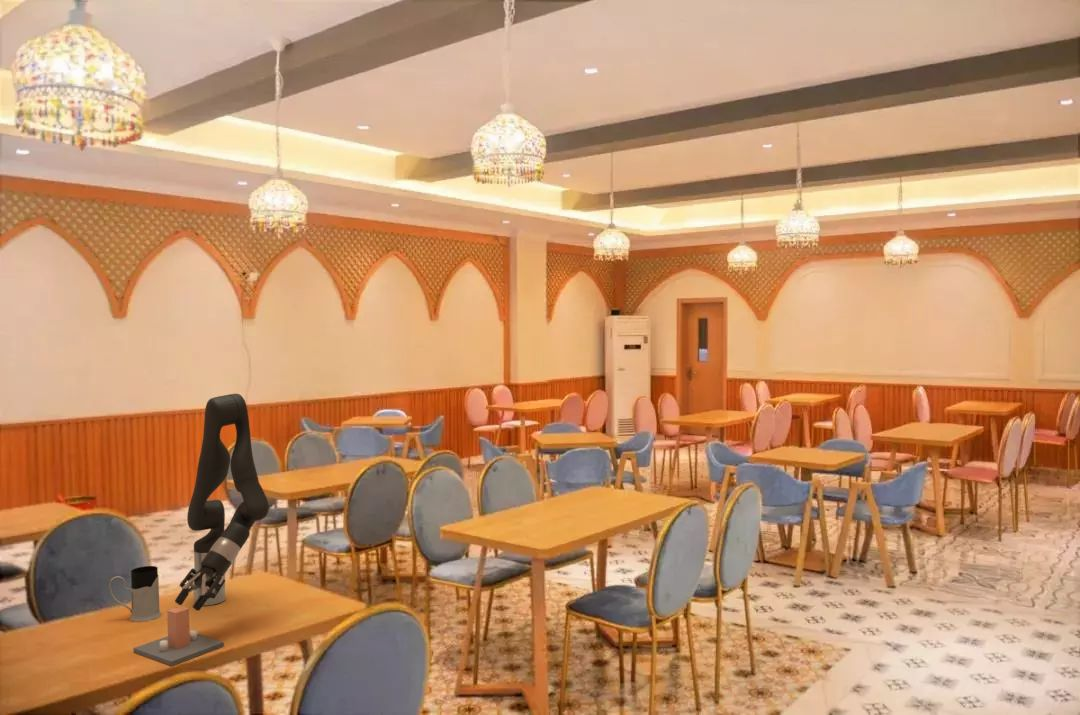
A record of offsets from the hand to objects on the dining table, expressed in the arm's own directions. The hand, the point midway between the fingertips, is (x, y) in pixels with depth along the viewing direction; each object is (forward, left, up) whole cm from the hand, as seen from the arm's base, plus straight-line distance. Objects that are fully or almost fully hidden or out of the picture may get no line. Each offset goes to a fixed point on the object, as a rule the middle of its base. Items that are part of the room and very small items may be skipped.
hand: (186, 606), depth 233 cm
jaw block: (0, -3, -10) cm, 10 cm away
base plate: (0, -3, -11) cm, 12 cm away
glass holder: (-35, +5, -11) cm, 37 cm away
